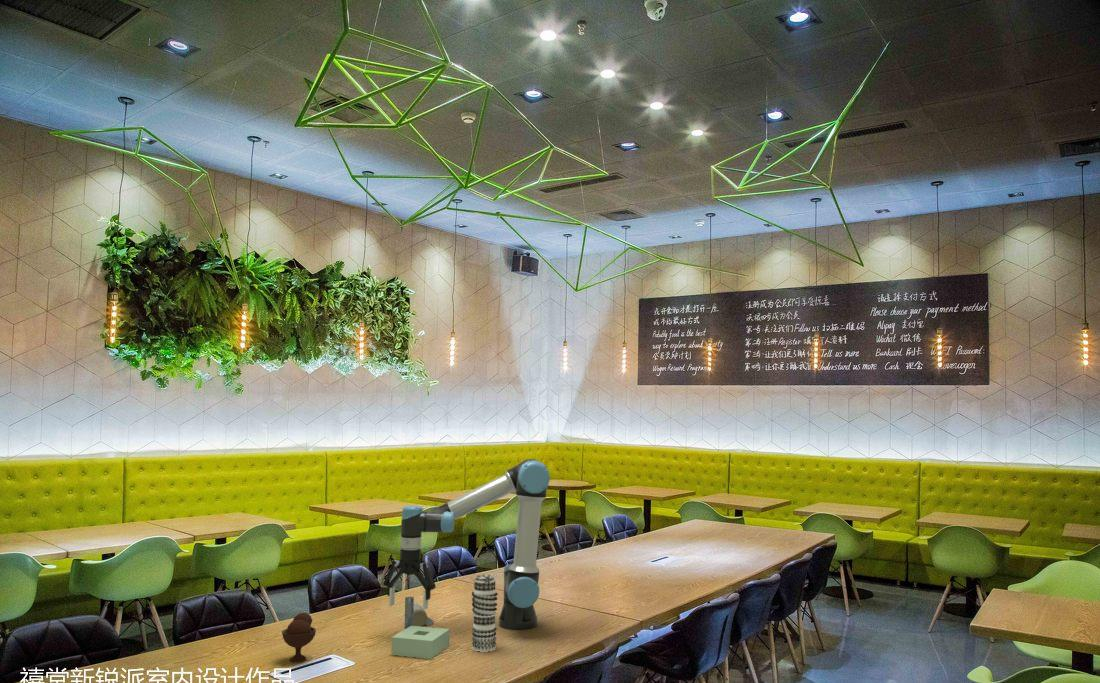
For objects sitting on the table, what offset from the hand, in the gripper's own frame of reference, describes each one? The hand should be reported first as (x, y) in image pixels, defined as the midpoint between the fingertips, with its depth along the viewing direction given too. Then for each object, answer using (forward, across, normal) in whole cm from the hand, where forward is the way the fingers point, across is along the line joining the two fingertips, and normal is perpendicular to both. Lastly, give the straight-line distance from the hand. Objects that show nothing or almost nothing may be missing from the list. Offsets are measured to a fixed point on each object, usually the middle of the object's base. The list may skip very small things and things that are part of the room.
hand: (408, 607), depth 285 cm
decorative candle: (+11, +32, -4) cm, 33 cm away
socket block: (+11, +12, -13) cm, 20 cm away
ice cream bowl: (+12, -24, -34) cm, 43 cm away
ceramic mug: (+11, -3, +17) cm, 20 cm away
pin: (+11, 0, 0) cm, 11 cm away
